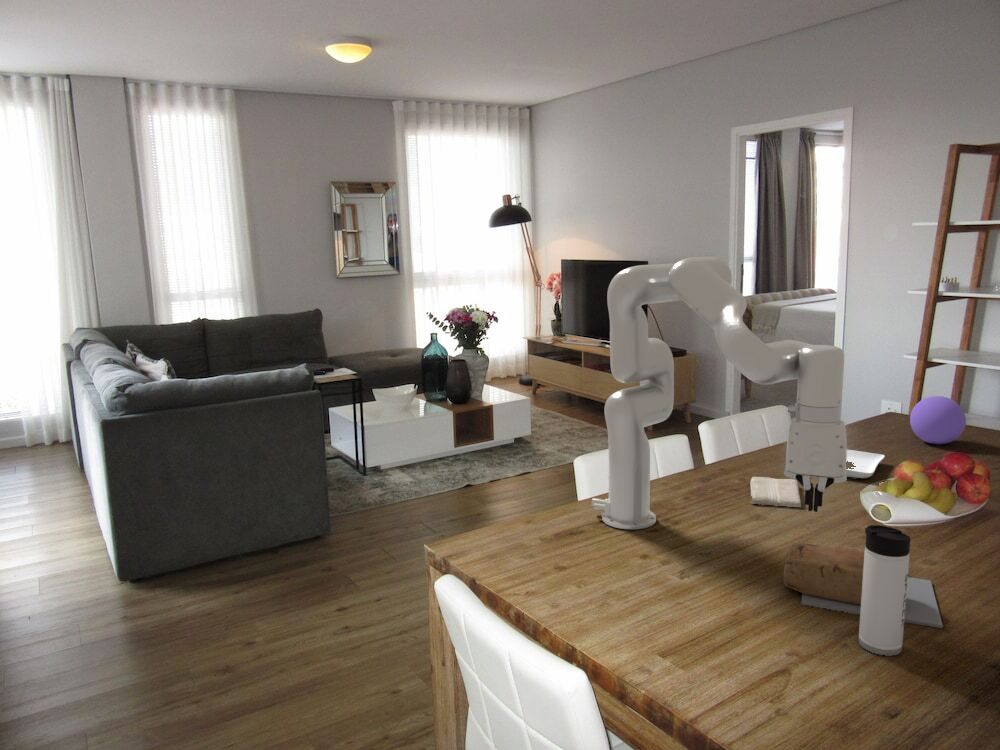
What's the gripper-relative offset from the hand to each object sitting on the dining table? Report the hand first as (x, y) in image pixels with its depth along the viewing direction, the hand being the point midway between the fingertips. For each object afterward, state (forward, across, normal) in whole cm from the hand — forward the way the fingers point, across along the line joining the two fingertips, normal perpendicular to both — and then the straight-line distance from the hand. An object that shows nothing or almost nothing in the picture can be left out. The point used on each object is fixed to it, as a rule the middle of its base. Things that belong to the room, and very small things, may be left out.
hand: (813, 508), depth 138 cm
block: (+11, -4, -1) cm, 12 cm away
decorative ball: (+15, +33, +117) cm, 123 cm away
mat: (+15, +10, 0) cm, 18 cm away
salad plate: (+16, +5, +80) cm, 82 cm away
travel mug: (+15, +11, -19) cm, 27 cm away
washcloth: (+16, -10, +50) cm, 53 cm away
